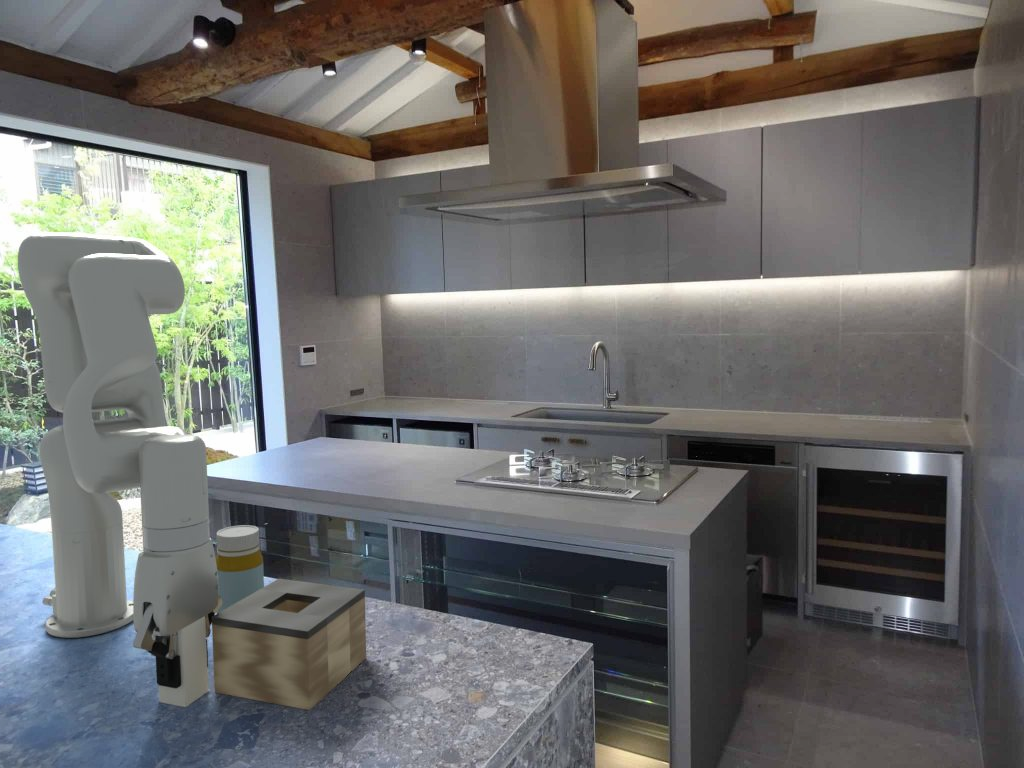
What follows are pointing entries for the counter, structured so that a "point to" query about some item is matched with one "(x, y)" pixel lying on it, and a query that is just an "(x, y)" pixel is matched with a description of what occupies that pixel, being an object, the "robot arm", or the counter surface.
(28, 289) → the robot arm
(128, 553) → the counter surface
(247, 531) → the bottle
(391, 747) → the counter surface
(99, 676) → the counter surface
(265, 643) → the socket
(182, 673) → the peg
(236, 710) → the counter surface
